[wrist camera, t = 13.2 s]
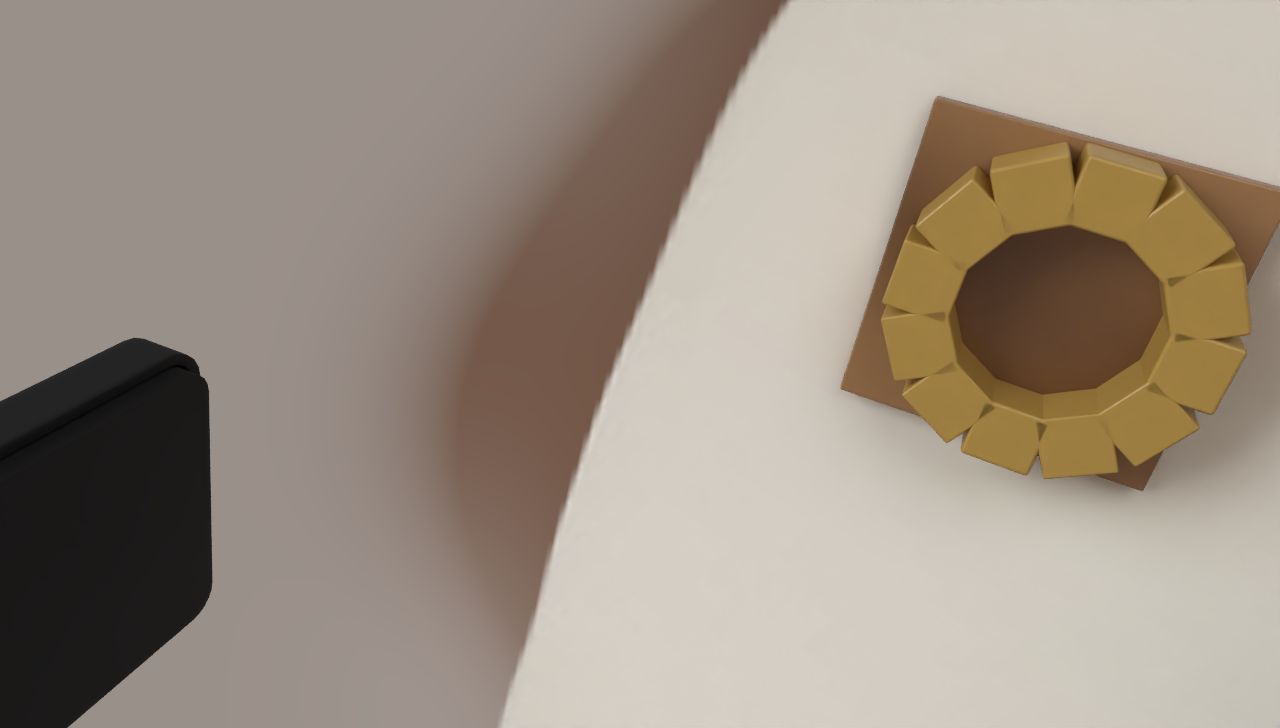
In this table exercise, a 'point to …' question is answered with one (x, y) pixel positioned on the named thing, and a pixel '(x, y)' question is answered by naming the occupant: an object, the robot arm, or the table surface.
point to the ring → (1130, 401)
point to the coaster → (1047, 271)
